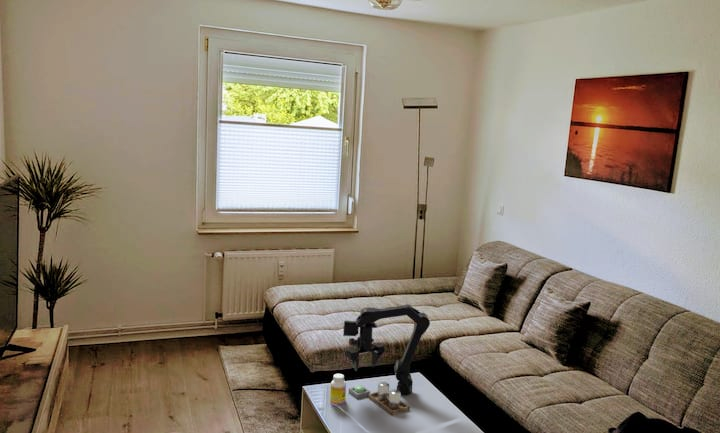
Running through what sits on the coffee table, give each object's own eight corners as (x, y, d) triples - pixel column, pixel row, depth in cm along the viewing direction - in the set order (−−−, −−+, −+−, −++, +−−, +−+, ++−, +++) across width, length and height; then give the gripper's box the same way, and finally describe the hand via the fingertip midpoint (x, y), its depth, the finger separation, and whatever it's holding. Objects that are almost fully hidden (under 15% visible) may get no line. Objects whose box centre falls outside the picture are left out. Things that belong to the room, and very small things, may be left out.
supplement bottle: (343, 407, 245) (344, 379, 243) (328, 405, 246) (329, 378, 244) (346, 400, 251) (347, 373, 249) (332, 398, 253) (333, 371, 251)
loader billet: (395, 403, 248) (396, 388, 246) (402, 408, 243) (403, 393, 242) (386, 406, 245) (386, 391, 244) (393, 411, 241) (393, 396, 240)
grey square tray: (361, 391, 261) (361, 385, 260) (369, 397, 255) (370, 391, 255) (348, 394, 257) (348, 388, 257) (356, 401, 251) (357, 394, 251)
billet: (383, 395, 255) (384, 381, 254) (390, 400, 251) (391, 385, 250) (374, 398, 252) (375, 383, 251) (381, 402, 248) (382, 388, 247)
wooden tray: (384, 395, 258) (384, 389, 258) (409, 412, 243) (409, 406, 243) (367, 399, 253) (367, 394, 252) (391, 417, 238) (392, 411, 237)
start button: (360, 391, 259) (360, 384, 258) (365, 395, 255) (366, 388, 255) (352, 393, 257) (352, 386, 256) (357, 397, 253) (358, 390, 252)
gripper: (372, 327, 266) (371, 358, 268) (338, 333, 256) (337, 366, 258) (386, 334, 257) (385, 367, 259) (352, 342, 247) (350, 375, 249)
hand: (364, 368), depth 257 cm, fingers open, 9 cm apart
